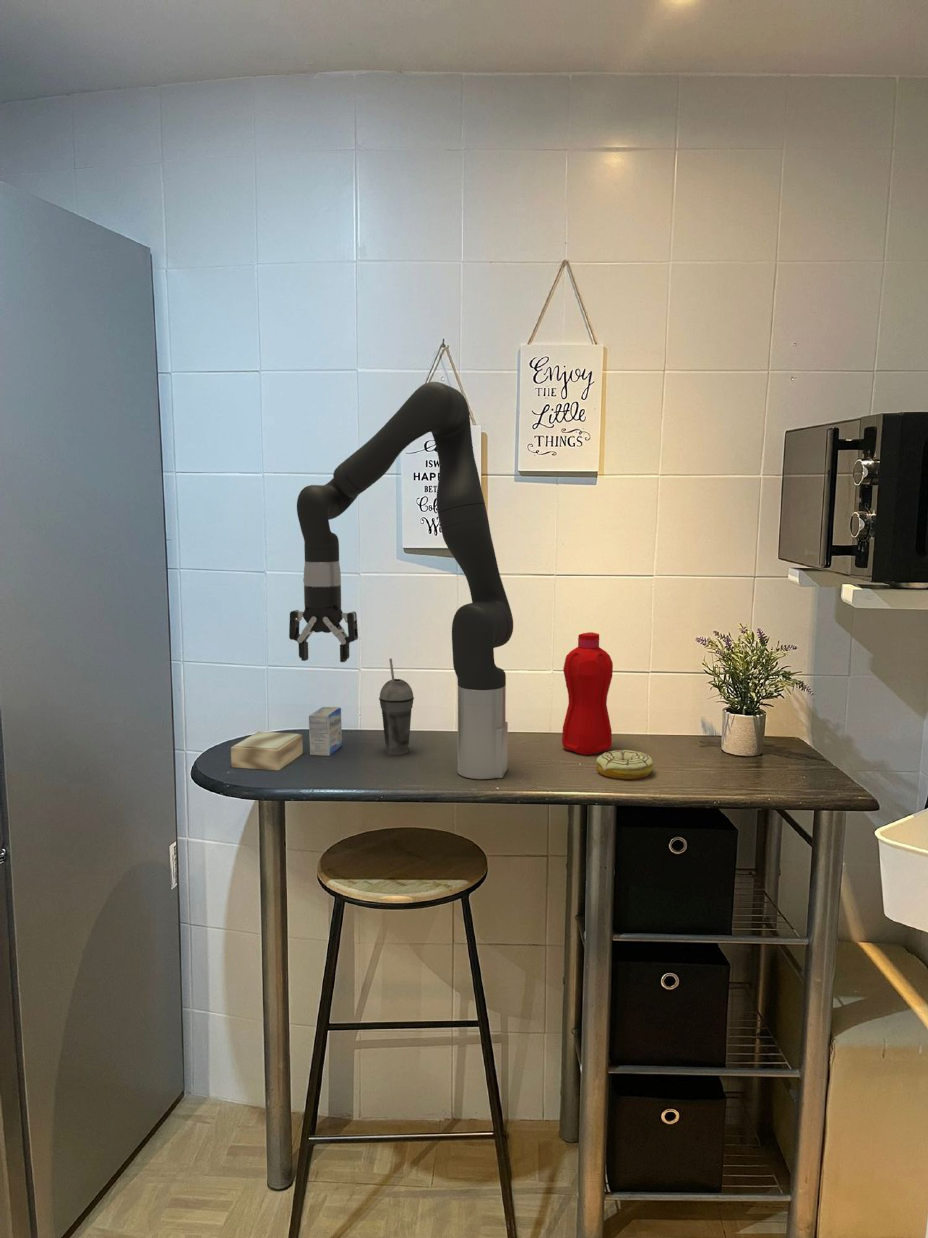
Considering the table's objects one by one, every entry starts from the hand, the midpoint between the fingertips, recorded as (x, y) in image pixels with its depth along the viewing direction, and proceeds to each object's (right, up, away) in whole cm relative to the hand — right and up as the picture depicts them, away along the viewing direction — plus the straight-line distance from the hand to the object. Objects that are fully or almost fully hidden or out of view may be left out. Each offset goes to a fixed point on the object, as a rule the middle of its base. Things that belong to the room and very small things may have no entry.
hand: (324, 661), depth 182 cm
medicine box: (0, -19, +3) cm, 20 cm away
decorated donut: (+60, -21, -12) cm, 65 cm away
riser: (-11, -20, -4) cm, 23 cm away
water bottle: (+55, -19, +4) cm, 58 cm away
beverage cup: (+15, -19, +1) cm, 25 cm away
